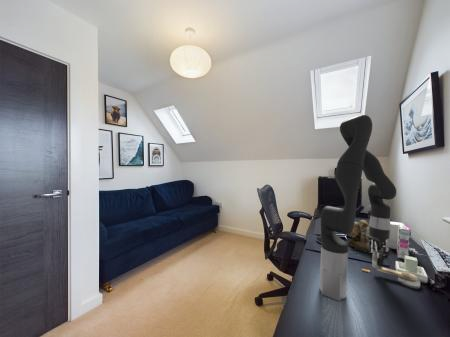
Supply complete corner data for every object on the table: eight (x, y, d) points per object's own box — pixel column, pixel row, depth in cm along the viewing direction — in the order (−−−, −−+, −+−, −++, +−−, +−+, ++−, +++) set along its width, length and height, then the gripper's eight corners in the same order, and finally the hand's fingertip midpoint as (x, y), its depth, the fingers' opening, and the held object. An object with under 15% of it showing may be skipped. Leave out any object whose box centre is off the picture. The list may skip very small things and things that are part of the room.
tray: (427, 283, 85) (427, 276, 85) (397, 275, 91) (397, 268, 91) (422, 273, 93) (423, 267, 93) (395, 266, 99) (395, 260, 99)
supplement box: (401, 246, 126) (402, 222, 126) (405, 251, 119) (406, 226, 118) (383, 242, 131) (384, 220, 131) (385, 247, 123) (386, 223, 123)
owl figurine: (341, 244, 126) (342, 217, 126) (350, 241, 132) (351, 215, 132) (375, 256, 111) (376, 225, 111) (383, 251, 117) (384, 222, 117)
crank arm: (415, 277, 86) (416, 258, 86) (418, 282, 82) (419, 263, 82) (371, 266, 94) (372, 249, 94) (372, 270, 90) (373, 252, 90)
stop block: (416, 276, 89) (417, 261, 89) (404, 273, 92) (405, 258, 92) (415, 272, 93) (416, 257, 92) (404, 269, 95) (404, 255, 95)
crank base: (418, 282, 86) (418, 278, 86) (421, 290, 80) (422, 285, 80) (362, 267, 98) (362, 263, 98) (361, 273, 92) (362, 268, 92)
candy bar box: (409, 261, 106) (411, 230, 106) (397, 258, 109) (398, 228, 109) (408, 254, 115) (409, 225, 114) (396, 251, 118) (397, 224, 117)
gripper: (399, 232, 83) (396, 273, 84) (379, 223, 97) (377, 257, 98) (379, 230, 85) (376, 270, 85) (362, 221, 99) (360, 255, 99)
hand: (377, 263), depth 91 cm, fingers closed on crank arm, 3 cm apart
